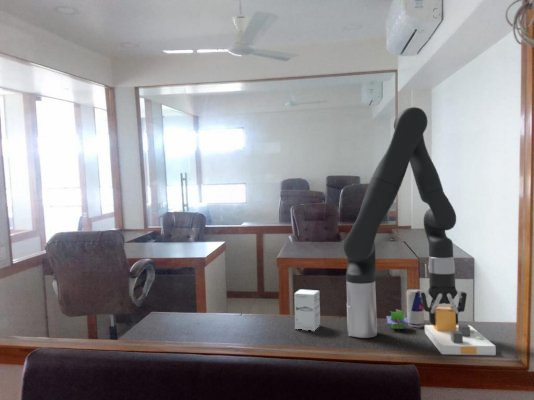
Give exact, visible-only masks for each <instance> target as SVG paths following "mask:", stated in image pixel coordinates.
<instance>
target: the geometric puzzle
mask: <svg viewBox="0 0 534 400" xmlns="http://www.w3.org/2000/svg"><path fill="white" fill-rule="evenodd" d="M389 314H390V315H386V324H387V325H388V326H390V329H392V330H393V329H397V330H395V331H397V332H401V331H402V330H403V329H405V328H406V327H407V326H409V324H408V318H407V315H406V313H405V311H402V310H400V309H397V308H395V311H390V312H389Z"/></svg>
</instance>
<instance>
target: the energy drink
mask: <svg viewBox="0 0 534 400" xmlns="http://www.w3.org/2000/svg"><path fill="white" fill-rule="evenodd" d="M420 291H422V292H423V290H421V289H417V288H409V289H407V290H406V312H407V313H406V314H407V315H406V316H407V319H408V324H409V325H408V324H407V325H408V326H409V327H410V328H411V327H412V328H419V329H420V328H424V327H425V312H424V311H425V310H424V309H423V307H422V303H421V298H420V294H419V292H420Z"/></svg>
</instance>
